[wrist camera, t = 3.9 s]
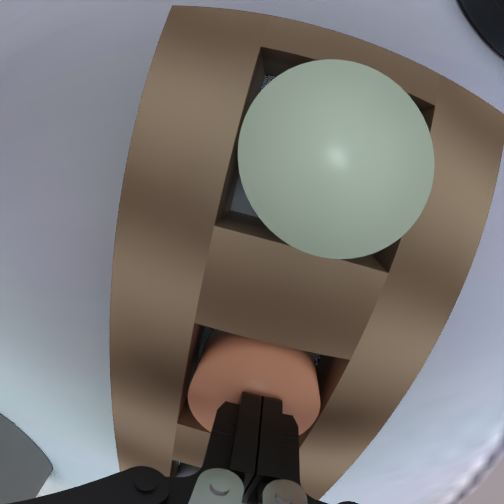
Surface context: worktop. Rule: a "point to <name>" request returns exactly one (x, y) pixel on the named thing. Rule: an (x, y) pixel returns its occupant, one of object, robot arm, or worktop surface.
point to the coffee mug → (20, 464)
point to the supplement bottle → (488, 20)
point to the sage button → (336, 159)
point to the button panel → (276, 246)
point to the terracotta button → (253, 378)
